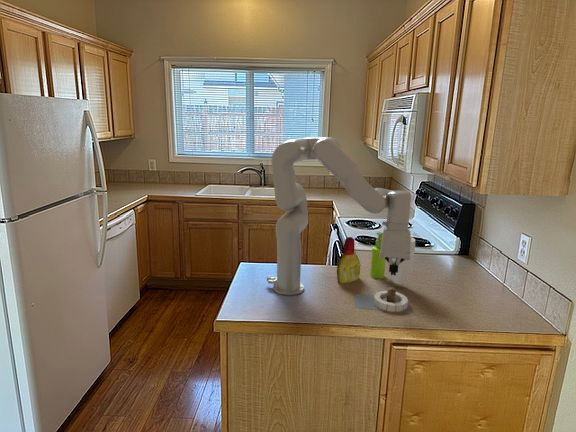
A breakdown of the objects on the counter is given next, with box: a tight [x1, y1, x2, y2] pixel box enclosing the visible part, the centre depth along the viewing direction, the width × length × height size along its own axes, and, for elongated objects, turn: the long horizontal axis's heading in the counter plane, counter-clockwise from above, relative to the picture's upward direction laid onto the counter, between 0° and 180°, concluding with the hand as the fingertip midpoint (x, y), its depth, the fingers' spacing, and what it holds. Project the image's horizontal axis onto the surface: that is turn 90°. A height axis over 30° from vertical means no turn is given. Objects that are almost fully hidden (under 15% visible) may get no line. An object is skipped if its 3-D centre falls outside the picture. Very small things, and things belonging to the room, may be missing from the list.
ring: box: [373, 290, 409, 313], centre depth 149 cm, size 12×12×2 cm
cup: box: [388, 236, 416, 285], centre depth 162 cm, size 10×10×22 cm
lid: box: [382, 286, 399, 303], centre depth 148 cm, size 6×6×6 cm
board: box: [354, 293, 412, 315], centre depth 150 cm, size 20×12×1 cm, turn 79°
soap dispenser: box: [369, 231, 386, 280], centre depth 174 cm, size 6×7×20 cm
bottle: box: [336, 236, 361, 284], centre depth 168 cm, size 12×6×20 cm, turn 123°
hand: (393, 273), depth 146 cm, fingers closed
